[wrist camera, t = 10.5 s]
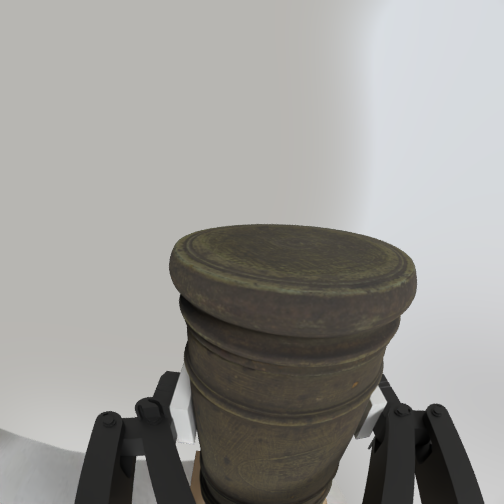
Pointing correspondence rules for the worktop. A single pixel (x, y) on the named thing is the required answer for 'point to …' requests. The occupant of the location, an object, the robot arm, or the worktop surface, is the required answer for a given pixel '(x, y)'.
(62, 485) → the worktop surface
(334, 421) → the container
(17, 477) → the worktop surface
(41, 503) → the worktop surface
